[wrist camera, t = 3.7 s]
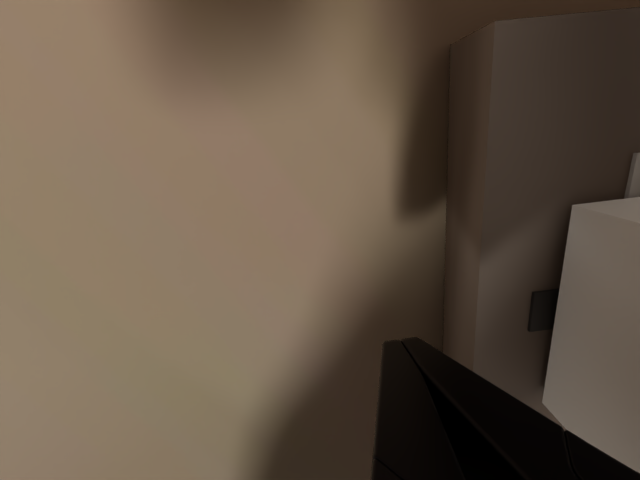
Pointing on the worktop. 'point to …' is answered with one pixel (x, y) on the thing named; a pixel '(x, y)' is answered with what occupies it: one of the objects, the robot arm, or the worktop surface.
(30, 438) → the worktop surface
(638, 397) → the fader knob
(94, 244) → the worktop surface
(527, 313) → the fader console
